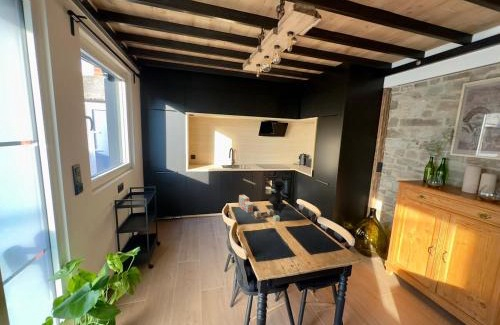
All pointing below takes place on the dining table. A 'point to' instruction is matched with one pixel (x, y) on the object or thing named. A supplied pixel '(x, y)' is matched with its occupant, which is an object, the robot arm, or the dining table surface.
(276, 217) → the sage block
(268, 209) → the maple block
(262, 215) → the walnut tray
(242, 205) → the stack of blocks
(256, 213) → the maple block
